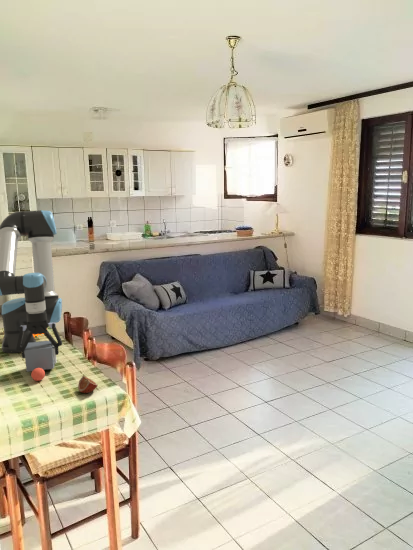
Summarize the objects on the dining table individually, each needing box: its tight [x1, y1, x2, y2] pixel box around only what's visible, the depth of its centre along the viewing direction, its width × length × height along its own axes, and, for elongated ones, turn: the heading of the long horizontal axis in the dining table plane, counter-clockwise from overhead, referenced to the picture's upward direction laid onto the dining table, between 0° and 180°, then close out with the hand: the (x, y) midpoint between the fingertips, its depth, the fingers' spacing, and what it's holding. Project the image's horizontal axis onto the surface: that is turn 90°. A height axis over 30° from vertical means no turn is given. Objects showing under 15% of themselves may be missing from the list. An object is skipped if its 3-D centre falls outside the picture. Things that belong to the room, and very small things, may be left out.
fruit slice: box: [77, 375, 98, 394], centre depth 163 cm, size 8×7×5 cm
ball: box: [30, 368, 46, 382], centre depth 174 cm, size 5×5×5 cm
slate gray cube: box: [24, 340, 56, 373], centre depth 184 cm, size 10×10×9 cm
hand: (41, 363), depth 185 cm, fingers closed on slate gray cube, 10 cm apart
